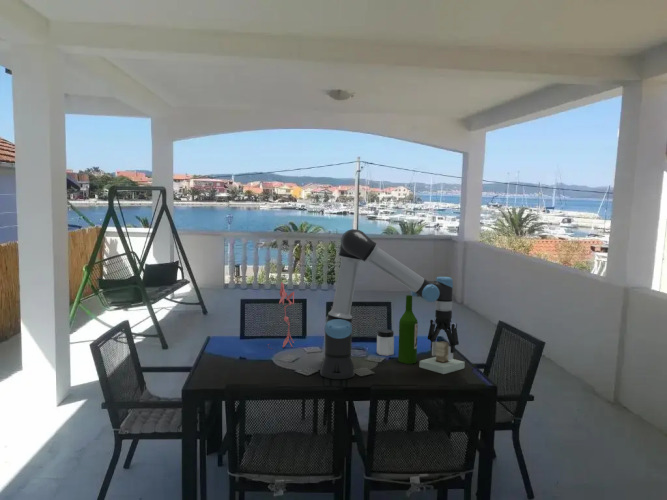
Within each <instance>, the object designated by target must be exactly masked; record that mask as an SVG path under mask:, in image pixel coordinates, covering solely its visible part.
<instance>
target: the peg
mask: <svg viewBox="0 0 667 500" xmlns="http://www.w3.org/2000/svg"><path fill="white" fill-rule="evenodd" d="M449 345H450V343H449V341H448V342H447V341H437V346H436V355H435V357H436V362H440V363H447V362H448V350H449Z"/></svg>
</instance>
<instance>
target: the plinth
mask: <svg viewBox="0 0 667 500" xmlns="http://www.w3.org/2000/svg"><path fill="white" fill-rule="evenodd" d="M418 364H419V365H418V366H419V368H421V369H424V370H428V371H432V372H434V373H439V374H442V375H445V374H449V373H452V372H453V373H454V372H457V371H459V370H463V369H465V368H466V367H465V366H466V363H465V361H462V360H458V359H454V358H453V359H452V360H448V362H447V363H440V362H436V356H432V357H430V358H426V359H422V360H419V363H418Z"/></svg>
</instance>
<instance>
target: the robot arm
mask: <svg viewBox="0 0 667 500" xmlns="http://www.w3.org/2000/svg"><path fill="white" fill-rule="evenodd" d="M338 257H339V259H340V265H339V271H338V274H337V275H338V276H337V281H336V287H335V291H334V298H333V302H332V307H331V310H330V311H328V313H327V317H326V323H325V324H324V339H325V340H324V358H323V362H322V365H321V367H320V372H319V373H320V376H322V377H323V378H326V379H330V380H331V379H332V380H345V379H351V378H354V377H355V375H356V373H355V367H354V363H353V360H352V332H353V326H352V323H353V322H352V321H353V315H352V314H351V310H352V304H353V299H354V294H355V288H356V283H357V278H358V274H359V273H358V271H359V267H360V264H361V263H362V262H367V263H370V264H372V265H373V266H374V267H376V268H378V269H379V270H381V271H382V272H383V273H385V274H387V275H388V276H390V277H391V278H393V279H394V280H395V281H396V282H398V283H400V284H402V285H403V286H404V287H406V288H407V289H409V290H410V295H411V296H412V298H413V297H416V298H422V299H423V300H425V301H426V302H428V303H429V302H430V303H432V302H433V303H434V302H435V309H436V310H435V319H430V323H429V328H428V329H429V330H428V334H427V340H428V341H430V348H431V356H432V357H435V356H436V346H437V342H438V341H437V338H438V336H439V334H440V333H441V330H443V331H444V333H445V334H446V337H447V339H448V343H449V350H448V360H452V359H454V354H455V348H456V346H459V345H460V344H459V343H460V342H459V337H458V330H457V328H458V323H456V322H455V323H454V322H452V318H453V316H452V315H453V312H452V309H453V291H454V290H453V289H454V281H453V278H452V277H451V276H437V277H436V280H427V279H425V277H422V275H419V274H418V273H417V272H415V271H414V270H413V269H411V268H409V267H408V266H406V265H405V264H403V262H400V260H398V259H396V258H394V257H393V256H391V255H390V254H389V253H387V252H386V251H384V250H383V249H381V248H380V247H379V246H378V243H377V242H375V241H373V239H371V238H370V237H369V236H368V235H367V234H366V233H365V232H364V231H362V230H360V229H354V228H353V229H349V230H347V231H345V232H344V233H343V234H342V236H341V238H340V247H339V252H338Z"/></svg>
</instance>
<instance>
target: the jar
mask: <svg viewBox="0 0 667 500" xmlns="http://www.w3.org/2000/svg"><path fill="white" fill-rule="evenodd" d="M394 335H395V333H394V331H393V330H392V329H378V330H377V335H376V354H377V355H379V356H387V357H388V356H393V355H394V354H395V353H394V352H395V351H394V350H395V336H394Z"/></svg>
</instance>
